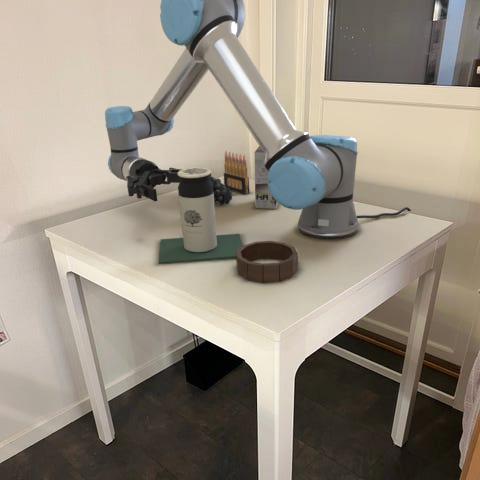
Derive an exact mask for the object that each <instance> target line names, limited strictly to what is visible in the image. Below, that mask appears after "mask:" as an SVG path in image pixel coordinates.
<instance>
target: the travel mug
mask: <svg viewBox="0 0 480 480" xmlns="http://www.w3.org/2000/svg"><path fill="white" fill-rule="evenodd" d="M210 173H211V174H212V170H210V169H209V168H207V167H189V168H184V169H183V170H180V171H179V172H178V176H179V178H180V183H178V186H177V192H178V202H179V212H180V221H181V222H180V223H181V231H182V238H183V241H184V248H185V249H186V250H188V251H191V252H207V251H210V250H212V249H214V248H215V247H216V246H217V237H216V235H217V223H216V210H215V202H214V192H213V184H212V183H211V181H210Z"/></svg>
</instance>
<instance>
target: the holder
mask: <svg viewBox="0 0 480 480" xmlns="http://www.w3.org/2000/svg"><path fill="white" fill-rule="evenodd" d="M242 245H243V244H242ZM269 259H271V260H278V262H267V263H266V262H265V263H261V262H257V260H269ZM298 259H299V253H298V250H297V249H296V247H295V246H294V245H292V244H289V243H286V242H283V241H274V240H261V241H259V240H258V241H253V242H249V243H246V244H244V245H243V246H242V247H241V248H239V249H238V250H237V251H236V258H235V260H236V261H235V262H236V271H237V275H238V276H240V277H241V278H243V279H245V280H247V281H249V282H254V283H255V282H256V283H262V284H267V283H268V284H269V283H278V282H282V281H285V280H289V279H291V278H292V277H294V275H295V274H296V273H297V271H298V264H299V262H298ZM255 261H256V262H255Z"/></svg>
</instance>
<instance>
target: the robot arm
mask: <svg viewBox="0 0 480 480" xmlns="http://www.w3.org/2000/svg"><path fill="white" fill-rule="evenodd" d="M159 9H160V13H159V18H160V24H161V28H162V31H163V33H164V35H165V37H166V38H167V39H168V40H169V41H170V42H171V43H172V44H175V45H177V46H181V47H182V46H184V47H185V48H184V50H183V51H182V53H181V54H180V56H179V58H178V59H177V61H176V62H175V63H174V64H173V67H172V68H171V69H170V71H169V73H168V74H167V76H166V77H165V79H164V80H163V82H162V83H161V85H160V86H159V88H158V89H157V91H156V93H155V94H154V96H153V97H152V99H151V100H150V101H149V103H148V104H147V106H146V107H145V108H144V109H141V110H136V111H134V110H133V108H132V107H131V106H128V105H117V106H111V107H108V108H106V109H105V111H104V120H105V128H106V131H107V136H108V141H109V148H110V155H109V157H108V160H107V167H108V170H110V173H111V174H112V175H114V176H115V177H116V178H118V179H120V180H123V181H126V187H127V194H128V197H134V196H135V195H136V199H142V198H143V197H145V198H146V199H148V200H151V201H152V202H158V201H159V200H158V192H157V189H156V188H155V187H156V186H161V185H171V183H172V184H173V183H174V184H179V183H180V178H179V176H178V172H179V171H180V170H183V169H181V168H175V167H169V168H168V169H161V168H160V167H159V166H158V165H157V164H156V163H155V162H153V161H151V160H149V159H146V158H143V157H141V156H139V147H138V141H142V140H147V139H150V138H153V137H157V136H163V135H166V134H167V133H170V132H171V130H172V129H173V127H174V122H175V119H174V118H175V116H176V114H177V113H178V112H179V110H180V109H181V108H182V106H183V105H184V104H185V103H186V101H187V100H188V99H189V97H190V96H191V94H192V93H193V92H194V90H195V89H196V88H197V87H198V85H199V84H200V82H201V81H202V80H203V78H204V77H205V76H206V74H208V71H209V72H210V73H211V74H212V76H213V78H214V80H215V81H216V83H217V84H218V86H219V87H220V88H221V90H222V91H223V93H224V94H225V96H226V98H227V99H228V100H229V102H230V104H231V105H232V106H233V108H234V109H235V111H236V112H237V114H238V115H239V117H240V119H241V120H242V122H243V123H244V125H245V126H246V128H247V129H248V131H249V133H250V134H251V135H252V137H253V138H254V140H255V141H256V143H257V144H258V147H259V146H260V147H261V149H262V150H263V152H264V153H265V161H264V166H265V168H266V169H267V171H268V172H269V173H268V180H269V182H268V187H269V190H270V193H271V195H272V196H273V198H274V199H275V200H276V201H277V202H278V205H280V206H282V207H283V208H286V209H289V210H295V211H299V210H301V212H300V214H299V218H298V221H297V231H298V233H300V234H302V235H303V236H305V237H308V238H311V239H317V240H325V241H326V240H327V241H330V240H333V241H334V240H341V239H346V238H347V239H348V238H350V237H353V236H354V235H355V234H357V232H358V230H359V221H358V219H378V218H380V217H393V216H394V217H395V216H399V215H400V214H402V213H403V212H404V211H407V212H412V209H410V207H408V206H405V207H403V208H402V209H400V210H399V211H397V212H382V213H378V214H376V215H375V214H373V215H371V214H370V215H366V214H364V215H363V214H362V215H360V214H359V215H357V212H356V208H355V203H354V191H355V181H356V180H355V179H356V168H357V158H358V154H359V153H358V152H359V151H358V141H357V139H356V138H354V137H351V136H345V135H331V134H316V135H315V134H314V135H310V134H309V132H306V131H301V130H298V129H297V128H296V126H295V125H294V123H293V122H292V120H291V119H290V116H288V114H287V112H286V110H285V109H284V107H283V106H282V105H281V103H280V101H279V99H278V98H277V97H276V95H275V94H274V92H273V91H272V89H271V88H270V86H269V85H268V82H267V81H266V80H265V79H264V77H263V74H261V72H260V70H259V69H258V67H257V66H256V65H255V63H254V62H253V60H252V59H251V57H250V55H249V54H248V52H247V50H246V49H245V48H244V46H243V45H242V43H241V42H240V40H239V37H240V36H241V33H242V30H243V28H244V25H245V21H246V6H245V2H244V0H161V1H160V6H159Z"/></svg>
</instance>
